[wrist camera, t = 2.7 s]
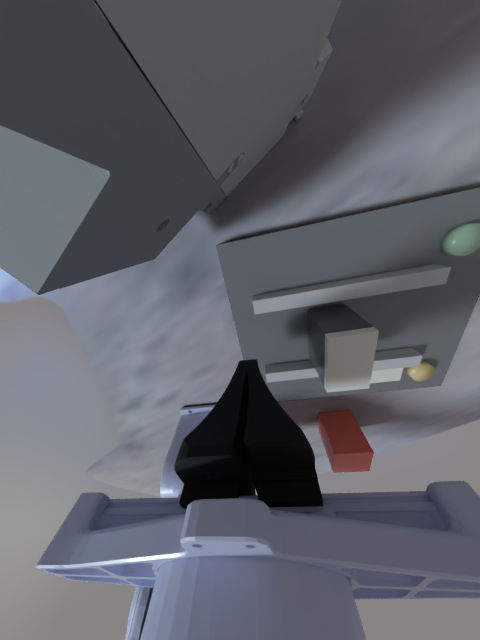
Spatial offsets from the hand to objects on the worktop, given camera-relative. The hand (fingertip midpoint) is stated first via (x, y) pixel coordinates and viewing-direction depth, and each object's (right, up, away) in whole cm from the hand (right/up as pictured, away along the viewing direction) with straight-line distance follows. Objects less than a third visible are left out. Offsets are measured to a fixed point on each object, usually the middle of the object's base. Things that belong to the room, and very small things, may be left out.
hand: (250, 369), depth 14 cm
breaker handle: (+7, +3, +3) cm, 8 cm away
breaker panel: (+9, +4, +4) cm, 11 cm away
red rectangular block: (+12, -10, +11) cm, 19 cm away
